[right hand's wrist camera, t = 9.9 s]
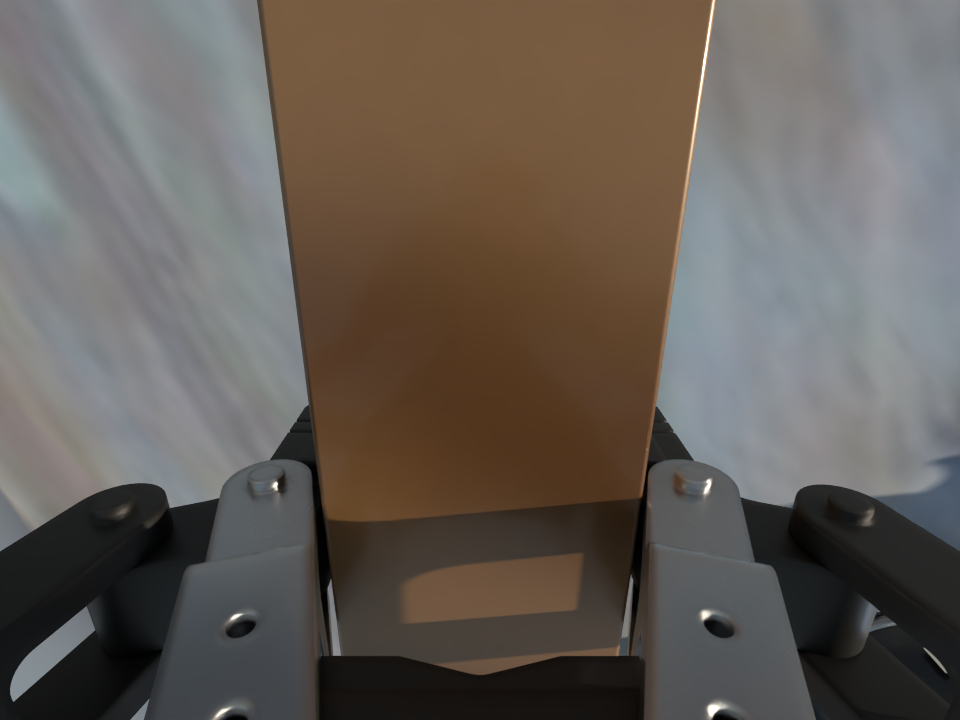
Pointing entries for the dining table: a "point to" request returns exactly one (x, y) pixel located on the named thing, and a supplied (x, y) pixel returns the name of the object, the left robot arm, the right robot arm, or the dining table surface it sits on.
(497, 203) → the post
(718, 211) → the dining table surface
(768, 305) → the dining table surface
